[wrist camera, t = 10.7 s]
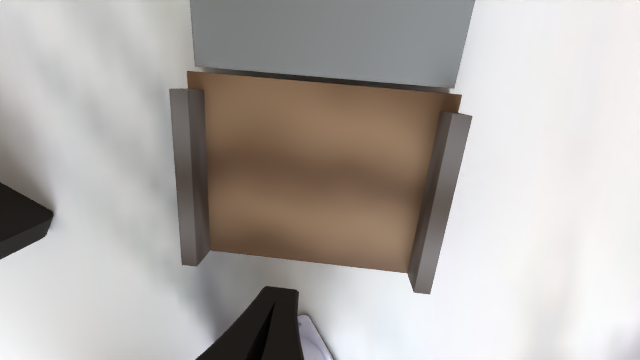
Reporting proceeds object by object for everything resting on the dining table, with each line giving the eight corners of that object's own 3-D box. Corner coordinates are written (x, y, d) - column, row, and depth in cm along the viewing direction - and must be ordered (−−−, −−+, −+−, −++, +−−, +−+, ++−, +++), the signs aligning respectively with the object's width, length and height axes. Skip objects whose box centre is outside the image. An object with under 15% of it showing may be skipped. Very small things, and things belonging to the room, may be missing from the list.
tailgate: (454, 88, 17) (478, -16, 15) (194, 66, 17) (187, -36, 15) (447, 86, 18) (469, -11, 16) (204, 66, 18) (197, -30, 17)
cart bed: (415, 258, 22) (429, 294, 18) (208, 235, 23) (181, 264, 19) (449, 94, 19) (477, 95, 15) (202, 72, 19) (167, 69, 15)
